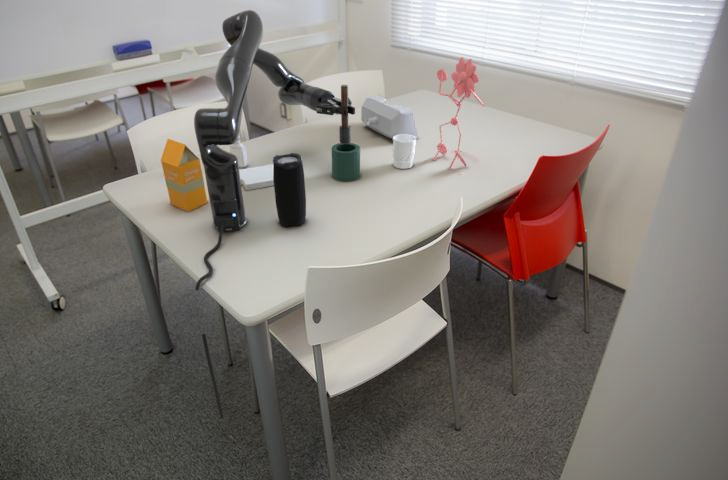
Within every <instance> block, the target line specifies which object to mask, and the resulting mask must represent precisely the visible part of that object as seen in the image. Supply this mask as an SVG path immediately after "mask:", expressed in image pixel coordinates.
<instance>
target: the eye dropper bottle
mask: <svg viewBox="0 0 728 480" xmlns="http://www.w3.org/2000/svg"><path fill="white" fill-rule="evenodd" d="M229 152H230V153H232V154H234V155H235V156H236V157H237V159H238V165H239V168H240V169H241V168H243V169H244V168H246V167H247V166H248V159H247V151H246V146H245V144H243V143H242V142H241V139H240V136H238V139H237V141H236V142H235V143H234V144H232V145H229Z"/></svg>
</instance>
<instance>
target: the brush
mask: <svg viewBox="0 0 728 480" xmlns="http://www.w3.org/2000/svg"><path fill="white" fill-rule="evenodd" d="M348 98H349V85H348V84H341V85H340V99H341V107H343V108H346V109H348ZM340 116H341V119H340V120H341V121H340V122H341V123H340V125H339V127H338V128H339V129H338V130H339V132H338V133H339V143H342V144H347V143H352V142H351V141H352V140H351V125H349V115H348V116H346V117H345V116H343V115H340Z"/></svg>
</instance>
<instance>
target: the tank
mask: <svg viewBox="0 0 728 480" xmlns="http://www.w3.org/2000/svg"><path fill="white" fill-rule="evenodd" d="M386 100H387V99H386V98H385V97H383V96H380V95H378V94H376V95H369V96H367V97H366V98H365V100H364V102H363V103H362V106H361V109H360V110H361V112H360V114H361V115H360V116H361V117H360V119H361V122H362V123H363V124H364V125H365V126H366V127H367V128H369V129H370V130H372V131H375V132H377V133H378V134H380V135H382V136H384V137H385V138H388V139H390V140H392V141H393V137H394V136H396V135H399V134H409V135H413V136H415V137H416V140H417V139H418V138H419V135H418V130H417V127H416V123H415V120H414V115H413V112H412V110H411V109H410V108H408V107H405V106H404V105H401V104H397V103H396V104H389V103H385V101H386ZM391 138H392V139H391Z"/></svg>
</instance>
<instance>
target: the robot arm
mask: <svg viewBox="0 0 728 480" xmlns="http://www.w3.org/2000/svg"><path fill="white" fill-rule="evenodd" d="M221 27H222V33H223V36H224V38H225V40H226V42H227V43H228V44H229V45H230V46H229V47H228V48H227V49H226V51H225V52H224V53H223V55H222V56H221V57H220V58H219V61H218V64H217V68H216V70H215V75H214V81H215V84H216V88H217V89H218V91H219V93H220V94H221V95H222V97H223V99H224V100H225V102H226V104H227V106H225V107H223V108H222V107H221V108H218V107H213V108H212V107H208V108H207V107H204V108H203V107H202V108H199V109H197V110H196V111H195V113H194V117H193V128H194V133H195V138H196V142H197V145H198V150H199V155H200V161H201V163H202V165H203V170H204V176H205V181H206V187H207V188H206V189H207V193H208V194H207V195H208V199H209V205H210V210H211V216H212V221H213V227H214V229H216V230H217V232H218V240H217V243H216V245H214V247H213V248H212V249H211V250H209V251H207V252H206V253H205V254H204V258H203V261H204V263H205V266H207V268H208V272H207V273H205V274H204V275H202V276H200V278H199V279H198V280H197V281H196V284H195V287H194V288H195V289H194V290H195V291H198V290H200V287H201V284H202V282H203V281H205V280H206V279H208V278H209V277H211V275H213V271H214V268H213V266H212V264H211V262H209V260H208V259H209V257H210V255H212V254H214V253H215V252H216V251H218V249H219V248H220V246H221V244H222V240H223V235H224V232H236V231H241V229H242V228H243V227H245V226H246V225H247V222H248V221H247V217H246V210H245V203H244V196H243V189H242V187H243V186H242V185H241V180H240V173H239V170H240V167H239V165H238V159H237V157H236V156H235V155H234V154H232V153H230V151H227V150H225V149H223V148H221V147H220V146H230V145H232V144H234V143H235V142H236V141H237V139H238V136H239V135H240V131H241V124H242V116H243V108H244V103H245V98H246V94H247V91H248V87H249V84H250V81H251V76H252V69H253V65H254V66H255V67H257V68H258V69H259V70H260V71H261V72H262V73H263V74H264V76H266V77H267V78H268V80H269V81H270V82H271V83H272V84H273V85H274V86H275V87H278V88H279V89H278V91H277V97H278V99H279V100H280V102H282V103H283V104H286V105H287V106H304V107H306V108H308V109H309V110H311V111H314V112H316V114H319V115H327V116H334V115H340V116H341V115H343V116H345V117H346V116H348V117H349V114H350V115H355V114H356V108H355V107H354V106H352V104H353V103H352V101H351V99H350V97H348V109H346V108H343V107H341V98H338V97H336V96H335V95H334V93H333V92H331V91H330V90H326V89H324V88H321V87H318V86H313V85H310V84H307V83H305V80H304V79H303V78H302V77H301V76H299V75H297V74H296V73H294V72H292V71H291V70H290V69H288V67H287V66H286V65H285V63H284V62H283V60H282V59H280V58H279V57H278V56H277V55H275V54H274V53H271V52H269V51H268V50H265V49H263V48H260V45H261V43H262V40H263V37H264V25H263V21H262V19H261V16H260V14H258V12H256V11H255V10H253V9H247V10H243V11H240V12H238V13H236V14H233V15H231V16H229V17H228V16H227V18H225V19H224V20H223V21H222V25H221ZM239 137H240V136H239ZM201 337H202V342H203V343H202V344H203V347H204V352H205V356H206V357H205V358H206V362H207V365H208V370H209V373H210V378H211V382H212V387H213V391H214V395H215V399H216V404H217V408H218V413H219V418H220V420H224V412H223V409H222V403H221V399H220V394H219V390H218V386H217V382H216V378H215V373H214V368H213V364H212V358H211V354H210V350H209V346H208V340H207V335H206V333H202V334H201Z"/></svg>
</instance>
